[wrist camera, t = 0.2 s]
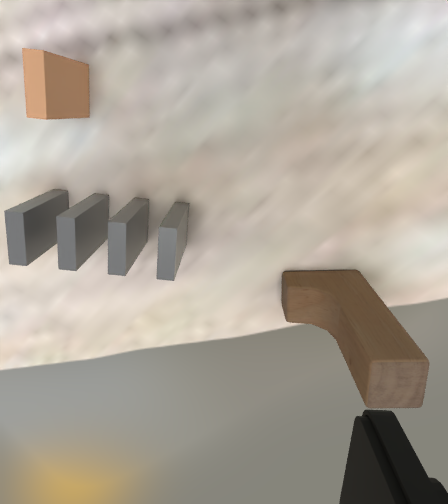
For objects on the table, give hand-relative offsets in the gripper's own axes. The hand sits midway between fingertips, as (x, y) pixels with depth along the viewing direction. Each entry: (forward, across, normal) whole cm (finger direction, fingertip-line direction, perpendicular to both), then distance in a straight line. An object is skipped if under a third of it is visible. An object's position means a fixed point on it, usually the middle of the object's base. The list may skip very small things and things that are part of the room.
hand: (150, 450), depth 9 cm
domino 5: (+36, +4, +5) cm, 37 cm away
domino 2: (+36, +17, +4) cm, 40 cm away
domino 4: (+36, +8, +5) cm, 37 cm away
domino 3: (+36, +13, +4) cm, 39 cm away
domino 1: (+36, +14, -9) cm, 40 cm away
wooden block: (+36, -13, +12) cm, 40 cm away
